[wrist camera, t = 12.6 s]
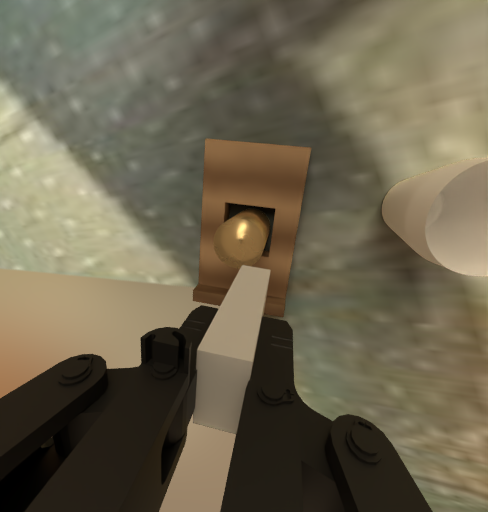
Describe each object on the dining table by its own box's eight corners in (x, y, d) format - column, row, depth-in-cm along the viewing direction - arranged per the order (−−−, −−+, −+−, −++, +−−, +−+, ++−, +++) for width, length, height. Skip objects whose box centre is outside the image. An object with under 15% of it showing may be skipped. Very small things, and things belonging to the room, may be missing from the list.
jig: (212, 142, 30) (199, 135, 26) (308, 151, 29) (313, 144, 24) (204, 285, 36) (192, 300, 32) (283, 299, 35) (283, 317, 30)
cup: (355, 201, 30) (398, 212, 18) (427, 148, 27) (530, 122, 15) (397, 256, 31) (462, 299, 19) (470, 210, 28) (597, 229, 16)
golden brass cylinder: (235, 206, 32) (215, 215, 23) (272, 210, 32) (267, 222, 22) (232, 241, 34) (211, 264, 24) (267, 246, 33) (260, 272, 24)
